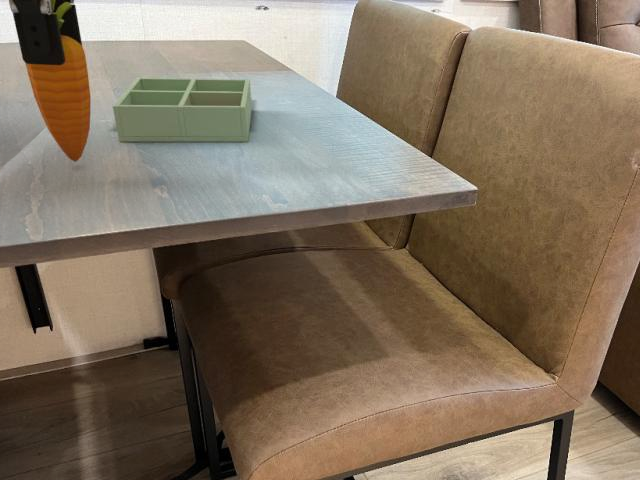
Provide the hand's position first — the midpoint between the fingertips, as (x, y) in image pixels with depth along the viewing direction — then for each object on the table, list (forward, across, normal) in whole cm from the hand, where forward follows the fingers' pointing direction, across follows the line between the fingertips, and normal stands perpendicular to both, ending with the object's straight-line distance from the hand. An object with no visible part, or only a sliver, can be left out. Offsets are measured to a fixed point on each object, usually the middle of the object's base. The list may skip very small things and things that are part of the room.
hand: (54, 54), depth 56 cm
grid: (+12, -20, +8) cm, 25 cm away
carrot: (+10, 0, 0) cm, 10 cm away
